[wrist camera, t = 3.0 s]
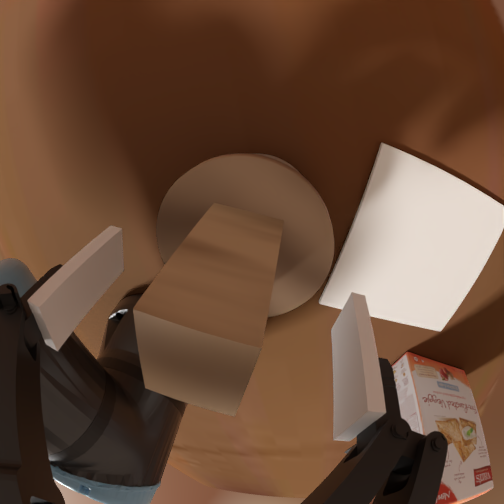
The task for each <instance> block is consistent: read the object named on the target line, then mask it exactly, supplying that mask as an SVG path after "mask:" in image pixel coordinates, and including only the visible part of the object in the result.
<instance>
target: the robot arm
mask: <svg viewBox="0 0 504 504" xmlns="http://www.w3.org/2000/svg"><path fill="white" fill-rule="evenodd" d="M123 271H124V262H123V242H122V229H121V228H118V227H115V226H109V227H108V228H107V229H106V230H104V231H103V232H102V233H101V234H99V235H98V236H97V237H96V238H95V239H93V240H92V241H91V242H90V243H89V244H87V245H86V246H85V247H84V248H83V249H82V250H80V251H79V252H78V253H77V254H76V255H75V256H73V257H72V258H71V259H70V260H69V261H68V262H67V263H66V264H65V265H61V264H60V265H57V266H55V267H53V268H51V269H50V270H49V271H48V272H47V273H46V274H45V275H44V276H42V277H41V278H40V279H39V281H37V280H36V279H35V277H34V276H33V274H32V273H31V272H30V270H29V268H28V267H27V266H26V265H25V264H24V263H23V262H21V261H20V260H18V259H13V258H8V259H4V260H2V261H0V504H65V501H64V498H63V496H62V494H61V492H60V490H59V489H58V487H57V486H56V484H55V482H54V480H56V481H57V482H59V483H61V484H62V485H64V486H66V487H68V488H69V489H72V490H74V491H76V492H78V493H81V494H83V495H85V496H87V497H89V498H91V499H93V500H96V501H99V502H102V503H104V504H150V503H151V500H152V498H153V496H154V494H155V491H156V489H157V488H158V487H159V486H160V483H161V478H162V475H163V472H164V469H165V466H166V463H167V460H168V457H169V454H170V451H171V449H172V446H173V443H174V440H175V437H176V434H177V431H178V428H179V425H180V422H181V419H182V417H183V414H184V411H185V408H186V406H187V404H188V403H185V402H182V401H179V400H176V399H173V398H171V397H168V396H165V395H162V394H160V393H157V392H154V391H152V390H149V389H146V388H145V384H144V379H143V374H142V368H141V363H140V357H139V351H138V344H137V337H136V330H135V322H134V314H133V308H134V306H135V305H136V304H137V302H138V301H139V299H140V298H141V297H142V295H143V294H138V295H131V296H128V297H126V298H124V299H122V300H121V301H120V302H119V303H118V305H117V306H116V307H115V309H114V310H113V311H112V313H111V314H110V316H109V318H108V321H107V325H106V329H105V333H104V337H103V341H102V345H101V349H100V353H99V356H98V358H97V360H96V359H95V358H94V356H93V355H92V354H91V353H90V352H89V350H88V349H87V348H86V347H85V346H84V344H83V343H82V342H81V341H80V339H79V338H78V337H77V336H76V334H75V333H74V332H73V330H74V329H75V328H76V327H77V325H78V324H79V323H80V322H81V320H82V319H83V318H84V317H85V315H86V314H87V313H88V312H89V311H90V309H91V308H92V307H93V306H94V304H95V303H96V302H97V301H98V300H99V298H100V297H101V296H102V295H103V294H104V293H105V291H106V290H107V289H108V288H109V287H110V286H111V284H112V283H113V282H114V281H115V280H116V279H117V278H118V276H119V275H120V274H121V273H122V272H123ZM331 334H332V354H333V389H334V429H333V440H340V441H351V440H352V439H353V438H355V437H356V436H357V444H355V445H354V446H352V447H351V448H349V449H348V450H347V451H345V453H347V455H346V456H345V457H344V458H343V460H342V461H341V462H340V463H339V464H338V465H337V466H336V468H335V469H334V470H333V471H332V472H331V473H330V474H329V475H328V477H327V478H326V479H325V480H324V481H323V482H322V483H321V484H320V485H319V486H318V487H317V488H316V489H315V490H314V491H313V492H312V493H311V494H310V495H309V496H308V497H307V498H306V499H305V500H304V501H303V502H302V503H301V504H369V503H370V502H371V501H372V499H373V498H374V497H375V495H376V497H375V499H374V501H373V504H435V503H436V499H437V496H438V492H439V488H440V484H441V480H442V476H443V471H444V466H445V461H446V456H447V450H448V442H447V439H446V437H445V436H444V434H442V433H441V432H439V431H433V432H431V433H429V434H428V435H423V434H420V433H417V432H414V431H412V430H411V428H410V425H409V424H408V422H407V421H406V420H404V419H402V418H401V413H400V406H399V400H398V394H397V388H396V383H395V380H394V379H395V377H394V372H393V368H392V366H391V365H390V363H389V361H388V360H387V359H383V358H378V354H377V349H376V344H375V339H374V334H373V329H372V324H371V319H370V315H369V310H368V306H367V302H366V297H365V295H361V294H357V293H353V292H352V293H351V294H350V296H349V298H348V300H347V302H346V304H345V306H344V308H343V309H342V311H341V313H340V315H339V317H338V318H337V320H336V322H335V324H334V326H333V327H332V329H331Z"/></svg>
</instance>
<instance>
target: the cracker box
mask: <svg viewBox="0 0 504 504" xmlns="http://www.w3.org/2000/svg"><path fill="white" fill-rule="evenodd" d="M392 368H393V372H394V377H395V379H394V380H395V383H396V388H397V394H398V400H399V406H400V413H401V418H402V419H404V420H406V421H407V422H408V424H409V425H410V428H411V430H412V431H414V432H417V433H420V434H423V435H428V434H429V433H431V432H433V431H439V432H441V433H442V434H444V436H445V437H446V439H447V442H448V450H447V456H446V461H445V466H444V471H443V476H442V480H441V484H440V488H439V492H438V496H437V499H436V503H435V504H461V503H464V502H466V501H469V500H471V499H473V498H476V497H478V496H480V495H482V494H484V493H486V492H488V491H489V490H491V489H492V488H493V480H492V473H491V467H490V461H489V456H488V451H487V446H486V442H485V437H484V433H483V429H482V425H481V421H480V418H479V414H478V410H477V407H476V404H475V401H474V397H473V394H472V391H471V388H470V385H469V382H468V380H467V377H466V374H465V371H464V370H461V369H458V368H455V367H452V366H449V365H446V364H443V363H440V362H437V361H434V360H431V359H428V358H425V357H422V356H419V355H416V354H413V353H411V352H408V351H407V352H406V353H405V354H404V355H403V356H402V357H401V358H400V359H399V360H397V361H396V362H395V363H394V364H393V365H392Z"/></svg>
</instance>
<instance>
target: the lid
mask: <svg viewBox="0 0 504 504" xmlns="http://www.w3.org/2000/svg"><path fill="white" fill-rule="evenodd" d="M156 233H157V242H158V248H159V251H160V254H161V257H162V260H163V262H164V264H165V265H164V267H163V268H162V269H161V271H160V272H159V273H158V275H157V276H156V277H155V279H154V280H153V281H152V283H151V284H150V286H149V287H148V288H147V290H146V291H145V292H144V294H143V295H142V297H141V298H140V299H139V301H138V302H137V304H136V305H135V306H134V308H133V314H134V322H135V330H136V337H137V344H138V351H139V357H140V363H141V368H142V374H143V379H144V384H145V388H146V389H149V390H152V391H154V392H157V393H160V394H162V395H165V396H168V397H171V398H173V399H176V400H179V401H182V402H185V403H188V404H192V405H195V406H198V407H201V408H205V409H208V410H212V411H215V412H219V413H223V414H226V415H230V416H234V417H235V414H236V412H237V409H238V407H239V405H240V402H241V400H242V397H243V395H244V392H245V390H246V387H247V385H248V382H249V380H250V377H251V375H252V372H253V370H254V367H255V364H256V362H257V359H258V357H259V354H260V351H261V349H262V344H263V339H264V333H265V328H266V323H267V317H271V316H277V315H280V314H283V313H286V312H288V311H291V310H293V309H295V308H297V307H299V306H300V305H302V304H304V303H305V302H306V301H307V300H309V299H310V298H311V297H312V296H313V295H314V294H315V293H316V292H317V291H318V290H319V288H320V287H321V286H322V284H323V283H324V281H325V279H326V278H327V276H328V274H329V271H330V268H331V265H332V262H333V256H334V235H333V228H332V223H331V220H330V216H329V213H328V210H327V208H326V205H325V203H324V201H323V199H322V198H321V196H320V195H319V193H318V192H317V190H316V189H315V188H314V187H313V185H312V184H311V183H310V182H309V181H308V180H307V179H306V178H305V177H304V176H302V175H301V174H300V173H299V172H298V171H296V170H295V169H293V168H292V167H290V166H288V165H287V164H285V163H282V162H280V161H278V160H276V159H273V158H270V157H267V156H263V155H258V154H252V153H232V154H225V155H221V156H217V157H213V158H211V159H208V160H206V161H204V162H202V163H200V164H198V165H197V166H195V167H194V168H192V169H190V170H189V171H187V172H186V173H185V174H184V175H182V176H181V177H180V178H179V179H178V180H177V181H176V182H175V183H174V184H173V185H172V186H171V188H170V189H169V191H168V192H167V194H166V195H165V197H164V199H163V201H162V204H161V206H160V209H159V213H158V217H157V225H156Z"/></svg>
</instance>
